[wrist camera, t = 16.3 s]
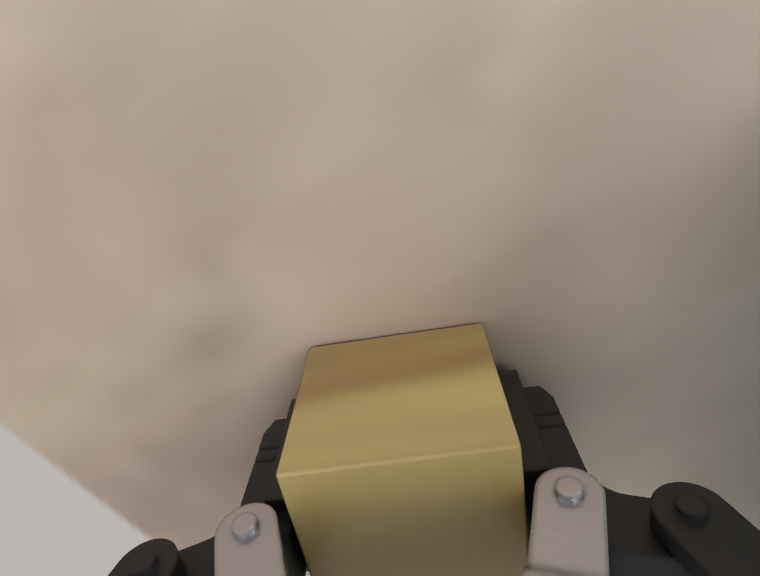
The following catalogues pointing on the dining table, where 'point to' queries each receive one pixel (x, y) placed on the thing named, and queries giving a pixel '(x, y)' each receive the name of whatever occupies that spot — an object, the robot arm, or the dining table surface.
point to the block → (405, 460)
